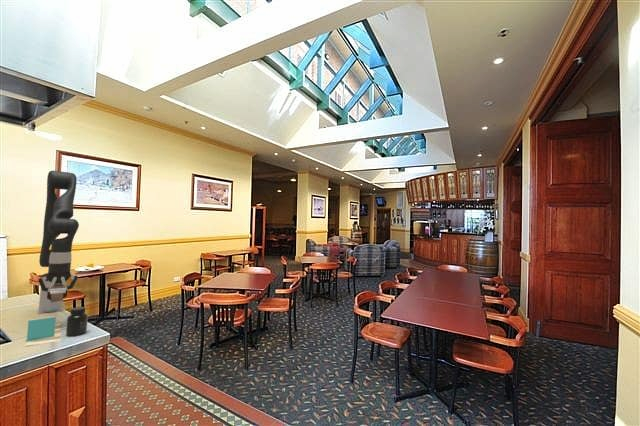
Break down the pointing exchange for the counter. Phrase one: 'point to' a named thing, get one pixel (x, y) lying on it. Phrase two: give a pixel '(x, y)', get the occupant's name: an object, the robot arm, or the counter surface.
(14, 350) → the counter surface
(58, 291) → the brown block
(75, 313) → the supplement bottle
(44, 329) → the tile
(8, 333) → the counter surface
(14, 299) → the counter surface
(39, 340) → the board
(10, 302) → the counter surface
